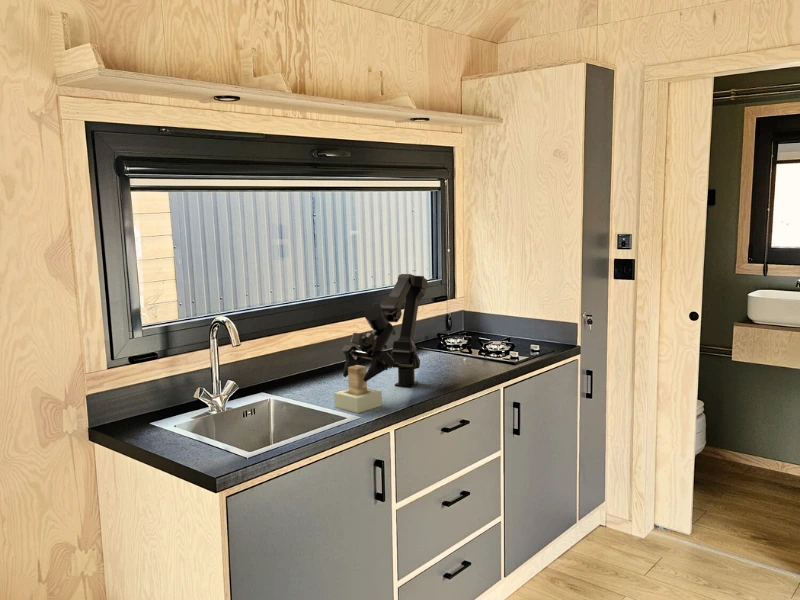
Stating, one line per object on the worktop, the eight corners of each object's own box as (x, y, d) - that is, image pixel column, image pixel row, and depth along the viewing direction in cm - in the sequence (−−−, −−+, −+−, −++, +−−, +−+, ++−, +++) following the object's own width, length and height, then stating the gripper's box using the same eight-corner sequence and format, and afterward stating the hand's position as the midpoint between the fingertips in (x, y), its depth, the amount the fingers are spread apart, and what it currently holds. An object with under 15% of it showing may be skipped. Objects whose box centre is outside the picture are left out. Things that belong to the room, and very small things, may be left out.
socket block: (359, 399, 229) (358, 386, 229) (382, 405, 222) (381, 391, 222) (334, 406, 222) (334, 392, 221) (357, 413, 215) (357, 398, 214)
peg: (358, 403, 225) (357, 364, 223) (367, 406, 222) (366, 366, 220) (349, 406, 222) (348, 367, 220) (358, 408, 219) (356, 369, 218)
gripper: (345, 319, 228) (319, 359, 221) (386, 325, 215) (361, 368, 209) (363, 340, 235) (339, 379, 228) (405, 347, 222) (380, 389, 215)
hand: (354, 378), depth 220 cm, fingers open, 9 cm apart
